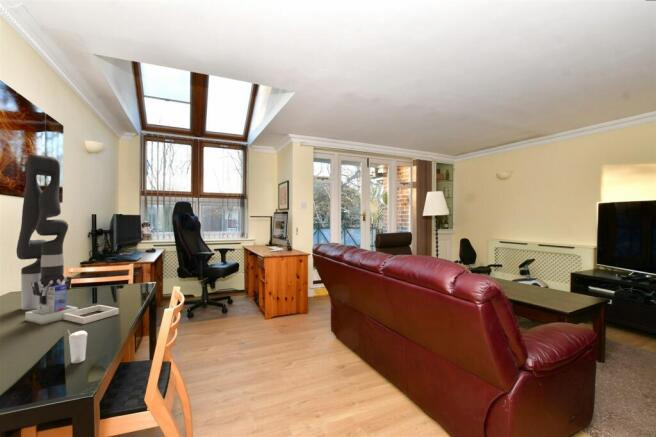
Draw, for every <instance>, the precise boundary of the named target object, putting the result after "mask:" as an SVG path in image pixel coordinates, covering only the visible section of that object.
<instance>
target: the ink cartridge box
mask: <svg viewBox="0 0 656 437" xmlns="http://www.w3.org/2000/svg"><path fill="white" fill-rule="evenodd" d="M42 286H43V285H41V286H39V291H41V288H42ZM43 288H44V289H45V288H46V287H44V286H43ZM67 292H68V290H67V285H64V284H62V285H57V282H56V284H55V285H53V286H49V290H48V291H47V293H46V294H45V296H46V304H45V305H42V304H41V303H40V296H38V302H37V309H36V310H37V313H40V314H51V313H55V312H59V311H63V310H66V308H67V307H66V306H68V305H67V302H68V301H67V300H68V299H67V298H68V297H67V296H68V294H67Z"/></svg>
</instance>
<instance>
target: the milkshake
mask: <svg viewBox="0 0 656 437" xmlns="http://www.w3.org/2000/svg"><path fill="white" fill-rule="evenodd" d="M67 333H68V334H69V336H68V341H69V352H70V361H71V363H72V364H79V363H82V362H84V361H85V360H86V351H87V342H88V332H87V331H85V330H79V331H75V332H72V333H71V331H70V330H69V328H68V329H67Z"/></svg>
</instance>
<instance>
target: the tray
mask: <svg viewBox="0 0 656 437" xmlns="http://www.w3.org/2000/svg"><path fill="white" fill-rule="evenodd" d="M66 307H67V308H66V310H63V311H59V312H55V313H51V314H40V313H37V309H32V310H28V311H25V315H24V316H25V321H26V322H27V321H28V322H31V323H35V324H39V325H46V324H50V323H53V322H58V321H61V320H64V319H63V313H67V312H72V311H76V310H79V307H77V306H73V305H67V306H66Z"/></svg>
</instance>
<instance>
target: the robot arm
mask: <svg viewBox="0 0 656 437" xmlns="http://www.w3.org/2000/svg"><path fill="white" fill-rule="evenodd" d="M25 168H26V169H25V190H24V196H23V197H24V198H23V202H22V212H21V224H20V231H19V234H18V235H19V236H18V239H17V245H16V257H17V258H18V259H19V260H20V261H21V260H23V261H24V260H36V261H34V262H33V263H30V264H28V265H26V266H23V267H21V272H20V274H21V275H20V277H21V278H20V281H21V282H20V284H21V285H20V288H21V290H20V292H21V296H20V298H21V299H20V303H21V304H20V305H21V306H20V307H21V308H20V310H22V311H33V310H37V302H38V296H40V303H41V304H42V305H45V304H46V296H45V294H46V293H47V291H48V290H49V286H53V285H55V284H56V282H57V285H67V291H69V290H70V289H71V284H72V280H73V277H72V276H68V275H67V276H64V262H65V261H64V242H65V238H66V235H67V233H68V229H69V224H68V222H67V221H66V220H64V219H51V218H55V217H58V216H59V215H61V214H62V210H61V203H60V201H61V200H60V184H61V183H60V182H61V164H60V160H59V159H58V158H57V157H54V156H47V155H38V154H34V153H33V154H30V155H28V157H27V160H26V167H25ZM37 176H43V177H50V181H49V183H48V184H47V186H46V187H45V188H44V189H43V190H42V189H41V187H40V185H39V183H38V179H37ZM35 231H36V233H37V234H38V235H39V236H41V237H45V236H49V237H50V236H56V237H55V238H54V239H51V240H45V239H31V238H32V235H33V234H34V232H35ZM63 281H64V284H63ZM41 285H43V286H44V287H46V288H45V289H44V288H43V286H42V288H41V291H39V286H41Z"/></svg>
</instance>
